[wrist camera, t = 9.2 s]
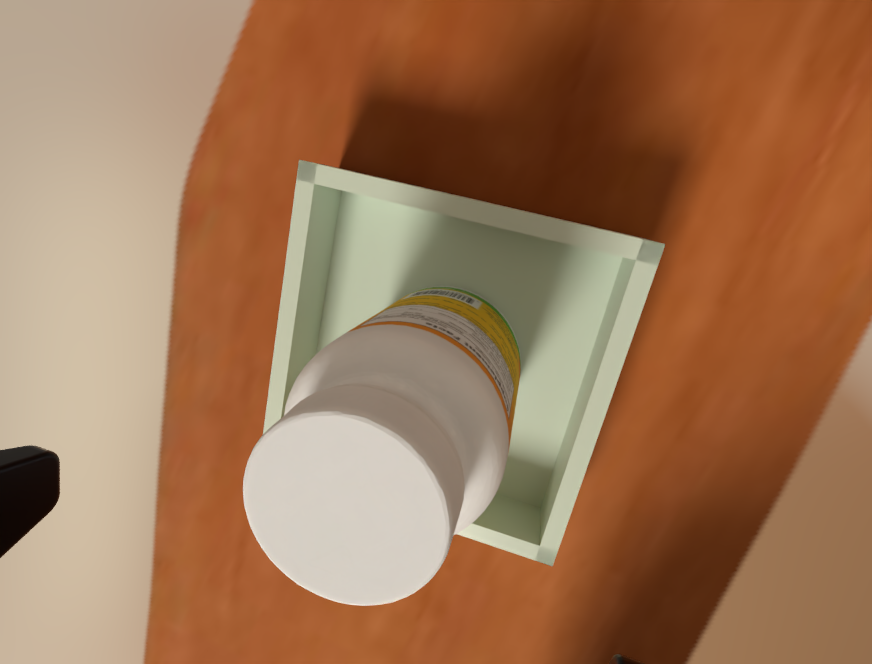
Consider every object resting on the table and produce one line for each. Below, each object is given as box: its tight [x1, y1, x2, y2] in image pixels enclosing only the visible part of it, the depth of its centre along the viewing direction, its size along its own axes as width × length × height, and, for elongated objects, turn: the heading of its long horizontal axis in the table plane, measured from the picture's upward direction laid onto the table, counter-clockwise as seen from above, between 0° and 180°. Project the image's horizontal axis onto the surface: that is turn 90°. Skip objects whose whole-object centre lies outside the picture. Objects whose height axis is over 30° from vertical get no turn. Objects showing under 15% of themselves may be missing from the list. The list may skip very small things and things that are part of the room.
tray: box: [263, 160, 665, 566], centre depth 17 cm, size 11×11×3 cm
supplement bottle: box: [243, 286, 521, 606], centre depth 13 cm, size 5×5×10 cm
